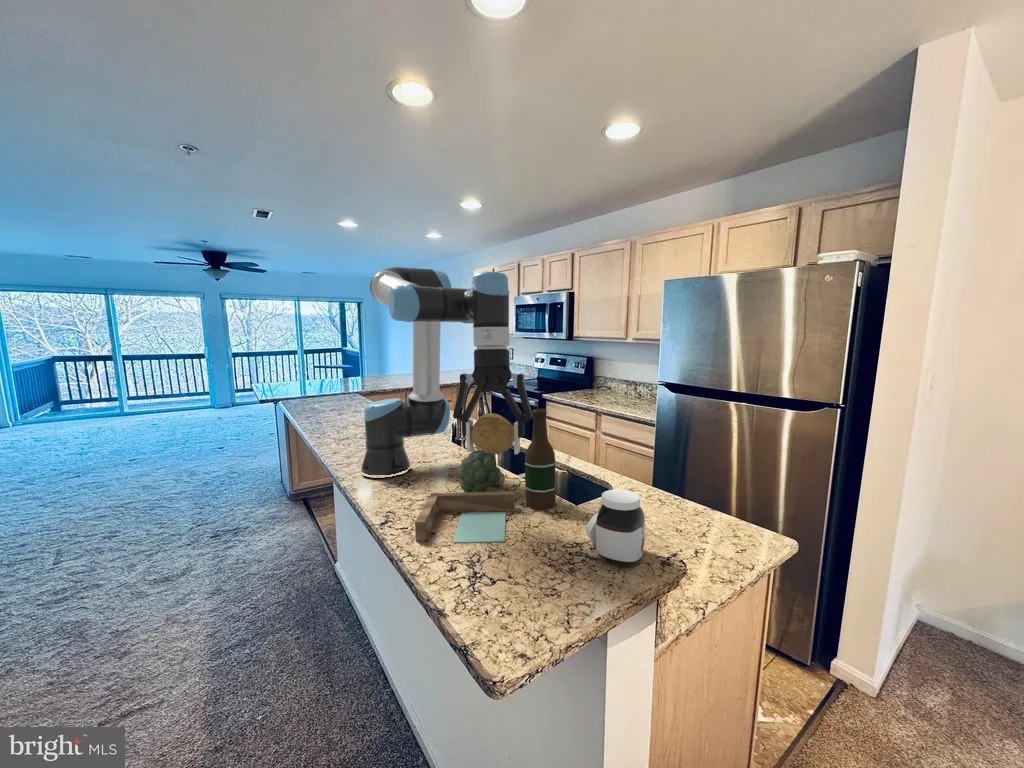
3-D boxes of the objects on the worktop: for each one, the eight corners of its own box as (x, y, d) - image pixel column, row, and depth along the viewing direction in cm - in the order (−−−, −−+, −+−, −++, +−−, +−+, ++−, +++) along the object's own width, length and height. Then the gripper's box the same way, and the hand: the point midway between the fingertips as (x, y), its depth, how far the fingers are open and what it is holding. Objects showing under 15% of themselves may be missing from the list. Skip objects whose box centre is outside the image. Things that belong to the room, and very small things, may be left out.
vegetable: (523, 483, 109) (487, 471, 99) (492, 511, 113) (453, 502, 102) (507, 450, 118) (472, 436, 107) (478, 477, 121) (441, 466, 111)
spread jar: (632, 576, 68) (632, 509, 67) (571, 557, 74) (571, 496, 73) (652, 546, 78) (653, 488, 77) (597, 532, 84) (597, 478, 83)
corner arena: (431, 508, 99) (431, 493, 98) (514, 507, 99) (514, 491, 98) (415, 540, 82) (414, 521, 82) (515, 538, 82) (515, 519, 82)
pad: (461, 513, 95) (461, 512, 95) (505, 512, 95) (505, 511, 95) (452, 542, 81) (452, 542, 81) (504, 541, 81) (504, 540, 81)
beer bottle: (519, 506, 99) (517, 410, 97) (535, 496, 105) (533, 406, 103) (546, 513, 95) (545, 412, 93) (561, 502, 101) (560, 408, 99)
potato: (473, 463, 79) (472, 423, 78) (469, 445, 93) (468, 411, 92) (522, 460, 80) (521, 421, 80) (511, 443, 94) (510, 410, 93)
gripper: (434, 348, 83) (438, 454, 85) (542, 347, 79) (542, 458, 81) (447, 348, 90) (450, 445, 92) (546, 347, 86) (546, 449, 88)
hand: (493, 451), depth 87 cm, fingers closed on potato, 10 cm apart
